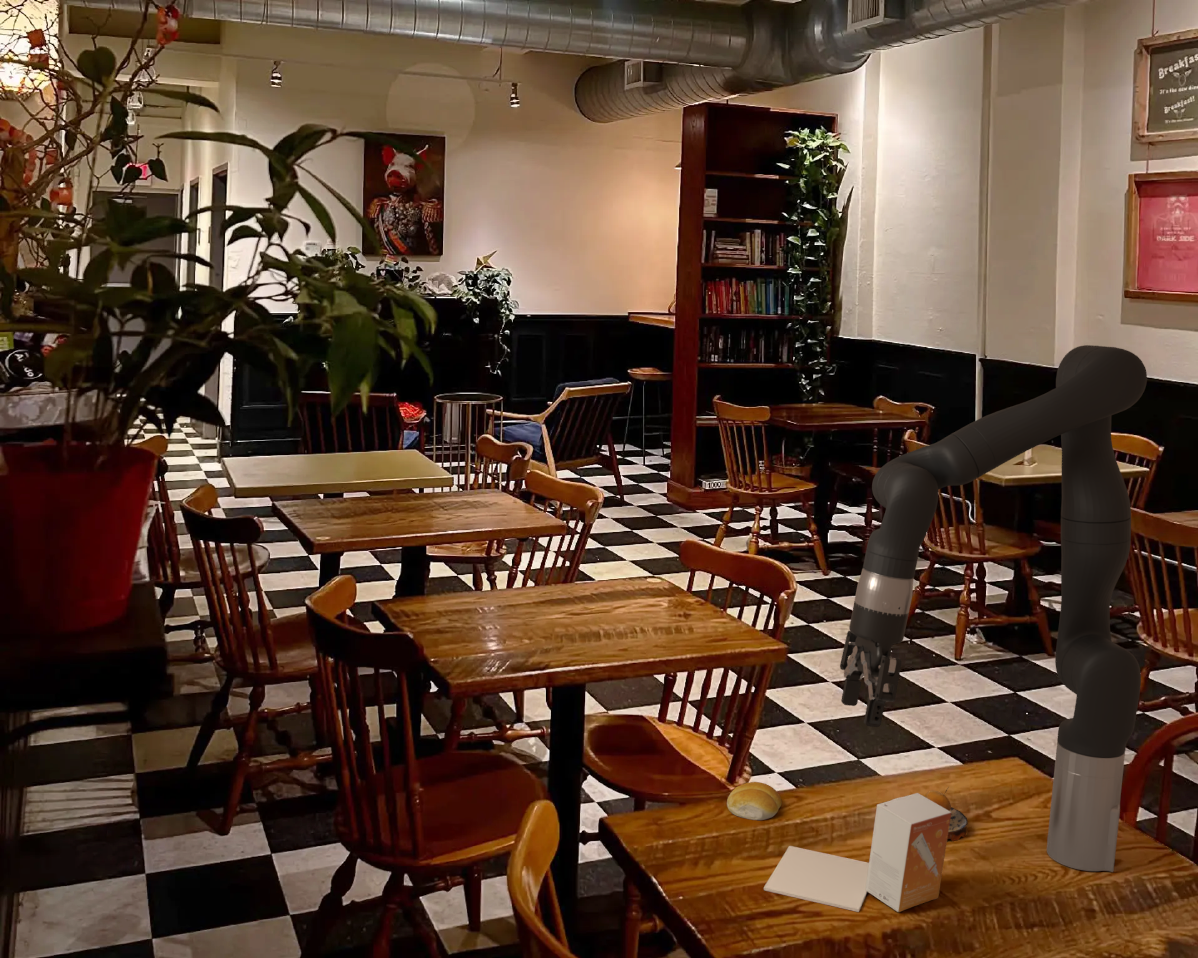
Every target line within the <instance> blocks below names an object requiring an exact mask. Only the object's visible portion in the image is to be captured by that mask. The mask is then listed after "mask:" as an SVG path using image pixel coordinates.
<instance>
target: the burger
mask: <svg viewBox="0 0 1198 958" xmlns="http://www.w3.org/2000/svg"><path fill="white" fill-rule="evenodd" d="M948 790H949V787H947V788H946V790H945V792H944V793H942V792H941V791H938V790H935V789H934V790H933V789H932V790H930V791H928V792H927V793H926V796H925V797H926V798H928V799H929V800H931V801H933V802H934V803H936V804H938V805H940V806H941V807H943V808H945V809H947V810H948V811H950V812H951V819H950V825H949V831H948V838H947V840H950V841H951V842H955V841H958V840H959V839H960V838H962V839H964V838H965V837H966V835H967V834H968V822H969V821H968V818H967V817H966V815H965V814H964V813H963V812H961V811H960V810H958V809H956V808H955V807H953V806H952V804H951V802H950V800H949V798H948V797H947V795H946V792H947V791H948Z"/></svg>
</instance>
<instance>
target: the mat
mask: <svg viewBox="0 0 1198 958" xmlns="http://www.w3.org/2000/svg"><path fill="white" fill-rule="evenodd" d="M868 867H869V861H868V862H866V861H862V860H857V859H852V858H849V857H848V858H847V857H844V856H839V855H834V854H829V853H825V852H821V851H816V850H813V849H812V850H811V849H808V848H807V849H805V848H802V847H797V846H793V845H789V846H788V847H787V849H786V850H785V853H784V854H783V855H782V858H781V859H780V861H779V862H778V864H777V866H776V867H775V869H774V871H773V872H772V873H771V875H770V877H769V878H768V880H767V881H766V883H765V885H764V887H763V891H766V892H770V893H774V894H779V895H783V896H788V897H792V898H797V899H801V900H805V901H809V902H812V903H813V902H814V903H818V904H822V905H826V906H832V907H835V908H840V909H844V910H849V911H853V912H856V913H859V912H860V910H861V908H862V905H863V903H864V901H865V899H866V896H867V894H868V893H869V892H868V891H866V890H865V889H866V882H867V874H868Z"/></svg>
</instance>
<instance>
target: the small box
mask: <svg viewBox="0 0 1198 958" xmlns="http://www.w3.org/2000/svg"><path fill="white" fill-rule="evenodd" d="M875 810H876V811H875V817H874V824H873V833H872V839H871V846H870V854H869V861H868V863H869V867H868V874H867V882H866V889H865V890H866V891H868V892H867V893H869V894H870V895H872V896H874V897H875V898H876V899H878V900H880V902H882V903H884V904H885V905H887V906H888V907H890V908H891V909H893V910H894V911H896V912H897V913H901V912H903V911H905V910H908V909H911V908H913V907H916V906H919V905H922V904H923V903H927V902H930V901H932V900H936V899H938V898H939V894H940V887H941V880H942V876H943V875H942V874H943V871H944V870H943V868H944V862H945V857H946V849H947V843H948V839H947V838H948V831H949V825H950V819H951V812H950V811H948V810H947V809H945V808H943V807H941V806H940V805H938V804H936V803H934V802H933V801H931V800H929V799H928V798H926V796H924V795H922V794H920V793H919V792H915V793H912V794H910V795H909V794H908V795H904V796H899V797H896V798H893V799H891V800H888V801H885V802H880V803H878V804H876V809H875Z"/></svg>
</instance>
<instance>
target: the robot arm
mask: <svg viewBox="0 0 1198 958" xmlns="http://www.w3.org/2000/svg"><path fill="white" fill-rule="evenodd" d="M1143 362H1144V361H1142V360H1141V358H1140V357H1139V356H1138V355H1136V354H1135V353H1133V352H1132V351H1129V350H1127V349H1124V348H1121V347H1115V346H1102V345H1090V344H1089V345H1088V344H1087V345H1085V344H1084V345H1080V346H1076V347H1074V348H1072V349H1071V350H1069V351H1068V352H1067V353H1065V355H1064V357H1063V358H1062V359H1061V361H1060V363H1059V365H1058V368H1057V371H1056V377H1055V388H1053V389H1051V390H1049V391H1048V392H1046V393H1044V394H1041V395H1039V396H1036V397H1034V398H1032V399H1030V400H1027V401H1024V402H1021V403H1018V404H1015V405H1013V406H1010V407H1006V408H1003V409H1001V410H997V411H994V412H992V413H990V414H987V415H985V416H983V417H981V418H978V419H976V420H974V421H973V422H971V423H969V424H967V425H965V426H963V427H961V428H960V429H958V430H956V431H955V432H952V433H950V434H949V435H947V436H946V437H943V438H942V439H941V440H939V441H937V442H935V443H932V444H929V445H925V446H923V447H920V448H917V449H915V450H912V451H910V452H907V453H904V454H902V455H899V456H897V457H895V458H893V459H891V460H890V461H888V462H886V463H885V464H883V466H882V467H880V468H879V469H878V470H877V472H876V473H875V475H874V477H873V479H872V485H871V490H872V494H873V496H874V498H875V500H876V502H877V503H878V504H879V505H880V506H882V507H883V508H884V509H885V513H884V514H883V518H882V520H881V521H882V522H881V524H880V527H879V528H877V529H875V530H873V531H872V532H871V533H870V536H869V538H868V540H867V545H866V550H865V556H864V561H863V565H862V569H861V572H860V573H861V574H860V577H859V578H858V583H857V587H856V590H855V591H856V592H855V596H854V600H853V607H852V613H851V615H850V616H851V617H850V620H849V627H848V628H849V630H848V631H847V633H846V637H845V642H844V646H843V650H842V654H841V659H840V660H841V661H840V664H839V668H840V670H842V671H843V677H844V678H845V680H844V686H843V690H842V696H841V699H840V700H841V703H842V704H843V705H844V706H851V707H855V706H857V704H858V702H859V701H858V700H859V696H860V691H861V686H862V681H861V680H862V679H864V681H863V682H864V684H865V685H867V687H868V688H867V689H868V699H867V704H866V709H865V714H864V718H863V724H864V725H866V726H867V727H869V728H870V727H871V728H879V727H881V724H882V720H883V715H884V712H885V711H884V710H885V706H886V703H888V702H893V703H894V702H895V701H896V698H897V697H896V696H897V691H898V683H899V679H900V673H901V669H902V659H901V658H900V657H893V656H892V646H895V645H897V644H900V643H902V642H903V641H904V638H905V632H906V628H907V622H908V617H909V614H910V613H909V612H910V609H911V608H910V607H911V603H912V598H913V594H914V593H913V592H914V591H913V588H914V578H915V573H916V569H917V565H918V559H919V553H920V548H921V546H922V543H923V542H924V540H925V538H926V536H927V533H928V531H929V528H930V526H931V524H932V521H933V519H934V516H935V515H936V514H935V513H936V510H937V509H938V501H939V490H941V489H943V488H945V487H949V486H964V485H966V484H969V483H971V482H973V481H974V480H977V479H978V478H980V477H982V476H984V475H986V474H988V473H990V472H992V471H993V470H994V469H996V468H998V467H999V466H1000V467H1001V466H1002V465H1003V464H1005V463H1007V462H1009V461H1010V460H1012V459H1015V458H1016V457H1018V456H1020V455H1021V454H1023V453H1025V452H1027V451H1030V450H1031V449H1034V448H1035V447H1038V446H1039V445H1041V444H1044V443H1046V442H1048V441H1050V440H1053V439H1055V438H1056V437H1059V436H1060V439H1061V441H1060V442H1061V507H1060V547H1061V561H1060V562H1061V571H1060V573H1061V575H1060V576H1061V577H1060V578H1061V579H1060V581H1061V582H1060V586H1061V587H1060V591H1061V595H1060V596H1061V598H1060V600H1061V601H1060V612H1059V613H1060V614H1059V621H1058V622H1059V623H1058V629H1057V638H1056V639H1057V640H1056V648H1055V660H1054V661H1055V663H1054V664H1055V670H1056V674H1057V676H1058V679H1059V681H1060V682H1061V683H1062V684H1063V686H1064V687H1066V689H1068V690H1070V691H1071V692H1072V693H1074V694H1075V695H1076V697H1075V706H1074V712H1073V716H1072V717H1071V718H1066V719H1064V720H1062V721H1061V723H1060V724H1059V726H1058V731H1057V737H1056V738H1057V741H1056V749H1055V751H1056V752H1055V759H1054V760H1055V762H1054V773H1053V781H1052V791H1051V802H1050V810H1049V811H1050V813H1049V823H1048V833H1047V839H1046V840H1047V843H1046V853H1047V855H1048V856H1049V857H1050V858H1051V859H1052V860H1053V861H1055V862H1057V863H1058V864H1061V865H1063V866H1065V867H1069V868H1071V869H1075V870H1078V871H1079V870H1081V871H1087V872H1101V871H1106V872H1112V873H1113V872H1114V870H1115V869H1114V868H1115V860H1116V850H1117V840H1118V832H1119V824H1120V823H1119V822H1120V814H1121V813H1120V812H1121V796H1122V795H1121V793H1122V786H1123V785H1122V783H1123V774H1124V769H1125V768H1124V765H1125V758H1126V757H1125V756H1126V749H1127V743H1128V741H1129V739H1131V736H1132V734H1133V732H1134V729H1135V726H1136V725H1135V724H1136V719H1137V713H1138V708H1139V707H1138V706H1139V700H1140V695H1141V694H1140V693H1141V686H1142V685H1141V684H1142V675H1141V668H1140V664H1139V662H1138V660H1137V658H1136V657H1135V656H1134V654H1133V653H1131V652H1130V651H1129V650H1128V649H1126V648H1124V647H1123V646H1120V645H1119V644H1117V643H1116V642H1113V641H1112V637H1111V636H1112V635H1111V625H1110V624H1111V618H1110V617H1111V615H1110V613H1111V611H1110V609H1111V601H1112V595H1113V592H1114V590H1115V588H1116V585H1117V583H1118V581H1119V578H1120V576H1121V575H1122V573H1123V571H1124V569H1125V567H1126V564H1127V562H1128V561H1127V560H1128V559H1129V555H1130V551H1131V541H1132V540H1131V539H1132V535H1131V534H1132V529H1131V528H1132V511H1131V501H1130V496H1129V493H1128V489H1127V486H1126V484H1125V479H1124V478H1123V477H1124V476H1123V474H1122V472H1121V470H1120V467H1119V465H1118V461H1117V458H1116V456H1115V452H1114V448H1113V441H1112V416H1113V415H1116V414H1118V413H1121V412H1124V411H1126V410H1128V409H1130V408H1131V407H1132V406H1134V405H1135V404H1136V403H1137V402H1138V401H1139V400H1140V398H1141V397H1142V396H1143V393H1144V392H1145V390H1146V388H1147V387H1146V386H1147V383H1148V376H1147V375H1148V373H1147V369H1146V366H1145V364H1144V363H1143Z"/></svg>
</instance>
